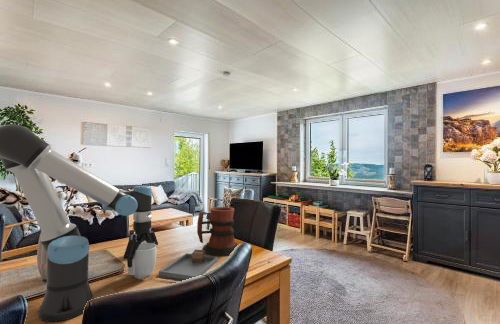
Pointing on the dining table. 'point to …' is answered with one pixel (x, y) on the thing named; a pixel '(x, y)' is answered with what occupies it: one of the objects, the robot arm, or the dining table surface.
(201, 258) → the walnut block
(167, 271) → the tray
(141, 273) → the mug
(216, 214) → the tankard
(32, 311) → the dining table surface
